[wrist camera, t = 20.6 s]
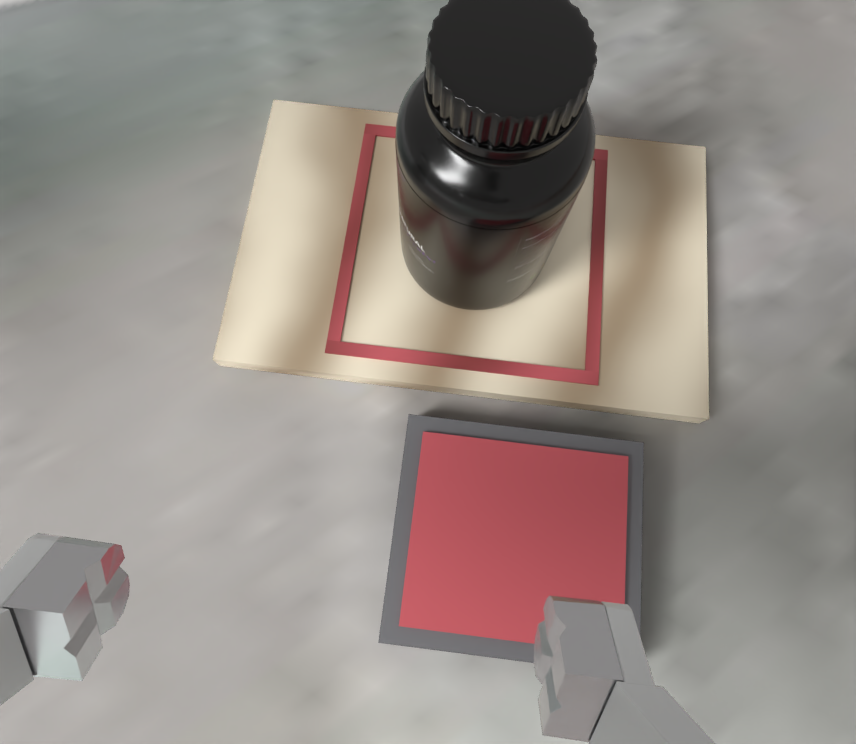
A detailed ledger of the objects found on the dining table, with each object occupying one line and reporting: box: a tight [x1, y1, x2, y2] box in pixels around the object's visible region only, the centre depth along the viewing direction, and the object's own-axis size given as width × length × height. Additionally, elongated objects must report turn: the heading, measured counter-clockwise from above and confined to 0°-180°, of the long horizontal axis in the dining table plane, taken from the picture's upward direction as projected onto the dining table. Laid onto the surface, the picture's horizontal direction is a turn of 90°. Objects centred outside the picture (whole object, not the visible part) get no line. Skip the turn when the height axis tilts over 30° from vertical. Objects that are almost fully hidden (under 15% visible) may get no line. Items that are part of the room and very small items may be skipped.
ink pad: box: [378, 414, 644, 663], centre depth 24 cm, size 10×9×2 cm
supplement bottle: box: [395, 0, 597, 310], centre depth 22 cm, size 7×7×12 cm
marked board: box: [213, 100, 709, 423], centre depth 28 cm, size 22×14×1 cm, turn 83°
